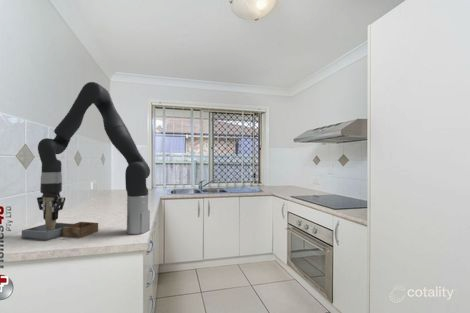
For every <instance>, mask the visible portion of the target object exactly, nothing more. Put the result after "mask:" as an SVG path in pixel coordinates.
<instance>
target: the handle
mask: <svg viewBox="0 0 470 313" xmlns="http://www.w3.org/2000/svg"><path fill="white" fill-rule="evenodd" d="M43 200H44V201H46V214H45V220H44V224H45V225H46V230H47V231H48V230H54V229H55V225H56V223H57V220H52V208H51V207H50V204H49V201H53V200H54V198H53V197H51V198H48V197H46V198H44V197H43ZM57 200H58V199H57ZM53 205H56V204H53ZM55 208H56V207H55Z"/></svg>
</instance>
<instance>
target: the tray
mask: <svg viewBox="0 0 470 313" xmlns="http://www.w3.org/2000/svg"><path fill="white" fill-rule="evenodd" d="M71 224H72V223H69V222H68V223H67V222H56V225H55V229H54V230H48V231H47V230H46V225H45V223H44V224H42V225H41V224H40V225H37V226H33V227H30V228H26V229H22V230H21V239H24V240H25V239H26V240H35V241H46V242H47V241H50V240H54V239H57V238H60V237H63V236H62V227H64V226H68V225H71Z"/></svg>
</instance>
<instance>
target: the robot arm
mask: <svg viewBox="0 0 470 313" xmlns="http://www.w3.org/2000/svg"><path fill="white" fill-rule="evenodd" d="M92 105H94V106H95V107H96V109H97V111H98V112H99V114H100V116H101V118H102V123H103V129H104V130H105V133H106V135H107V138H108V139H109V141H110V143H111V144H112V145H113V146H114V148H115V149H116V150H117V151H118V152H119V153H120V155H122V156H123V157H124V159H125V161H126V163H127V167H126V168H125V173H124V175H125V176H124V177H125V178H124V179H125V190H126V194H127V196H126V197H127V198H126V233H127V235H142V234H144V233H146V232H149V231H150V230H151V228H150V226H151V224H150V223H151V211H150V209H149V189H148V187H147V178H149V176H150V174H151V169H150V165H148V164H149V163H147V162H146V161H145V159H144V157H143V156H142V155H141V153H140V151H139V149H138V148H137V145H136V143H135V141H134V139H133V137H132V135H131V133H130V131H129V129H128V127H127V126H126V124H125V123H124V120H123V119H122V117H121V115H120V114H119V112H118V111H117V109H116V107H115V105H114V102H113V100H112V97H111V95H110V93H109V91H108V90H107V89H106V88H105V87H103V86H102V85H101V84H99V83H98V82H94V81H89V82H87V83H85V84H84V85H83V86H82V88H81V89H80V91H79V92H78V95H77V97H76V98H75V100H74V102H73V104H72V105H71V107H70V109H69V111H67V113H66V115H65V116H64V118H63V119H62V120H61V121H60V122H59V123H58V125H56V127H55V128H54V130H53V132H54V134H55V137H54V138H49V137H48V138H42V139H41V140H40V141H39V142H38V144H37V152H38V156H39V159H40V162H41V174H40V189H39V190H40V194H42V195H41V196H39V197H36V201H37V204H38V209H39V211H42V212H43V213H42V214H43V216H42V217H43V220H44V221H45V214H46V201H44V200H43V197H44V198H46V197H48V198H51V197H53V198H54V200H53V201H49V204H50V207H51V208H52V220H56V221H57V220H58V218H59V211H62V210H63V209H64V204H65V202H66V197H63V196H61V192H62V190H63V188H62V187H63V175H62V174H63V173H62V161H61V160H60V159H58V158H57V155H60V154H62V153H64V152H65V150H66V149H67V148H68V146H69V144H70V141H71V138H72V137H73V136H74V135H75V134H76V132H77V131H78V130H79V129H80V127H81V125H82V123H83V119H84V116H85V113H86V112H87V110H88V109H89V108H90V107H91V106H92ZM57 199H58V200H57ZM53 204H56V205H53ZM55 207H56V208H55Z"/></svg>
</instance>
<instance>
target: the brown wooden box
mask: <svg viewBox="0 0 470 313" xmlns="http://www.w3.org/2000/svg"><path fill="white" fill-rule="evenodd" d="M97 232H99V222H91V221H90V222H89V221H79V222H75V223H71V225H68V226H64V227H62V236H61V237H66V238H67V237H69V238H77V239H78V238H79V239H80V238H81V239H82V238H83V237H87V236H89V235H93V234H95V233H97Z"/></svg>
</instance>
